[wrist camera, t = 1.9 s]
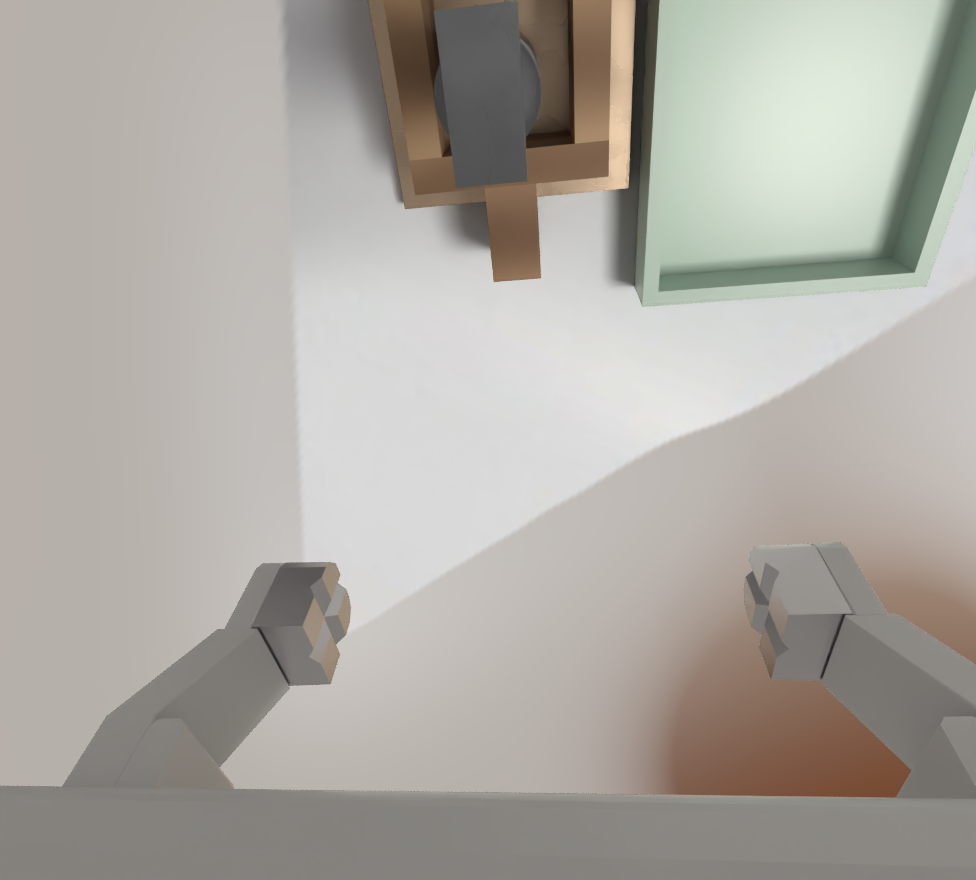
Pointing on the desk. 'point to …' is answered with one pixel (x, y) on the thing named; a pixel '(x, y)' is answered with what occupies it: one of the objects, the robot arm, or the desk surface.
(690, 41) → the sage tray
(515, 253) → the walnut collar
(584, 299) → the desk surface
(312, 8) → the desk surface
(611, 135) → the post stand
